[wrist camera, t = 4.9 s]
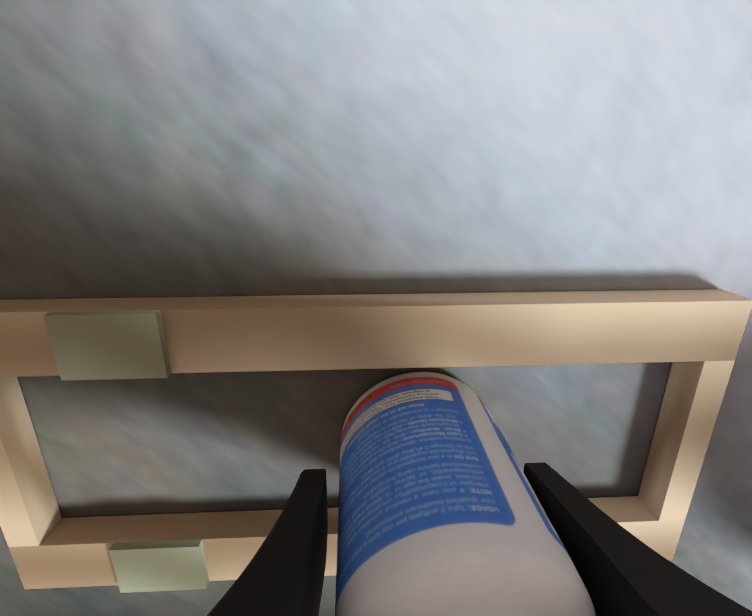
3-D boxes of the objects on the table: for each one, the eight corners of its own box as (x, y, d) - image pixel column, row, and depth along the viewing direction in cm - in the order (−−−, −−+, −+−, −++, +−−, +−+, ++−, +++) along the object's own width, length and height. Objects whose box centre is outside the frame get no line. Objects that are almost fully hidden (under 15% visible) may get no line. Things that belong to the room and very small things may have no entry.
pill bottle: (313, 457, 15) (248, 917, 6) (392, 339, 14) (467, 700, 5) (437, 514, 16) (545, 972, 7) (521, 410, 15) (792, 813, 6)
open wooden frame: (651, 534, 17) (678, 567, 16) (48, 559, 16) (18, 597, 15) (720, 289, 14) (763, 303, 12) (-42, 300, 13) (-93, 317, 11)
